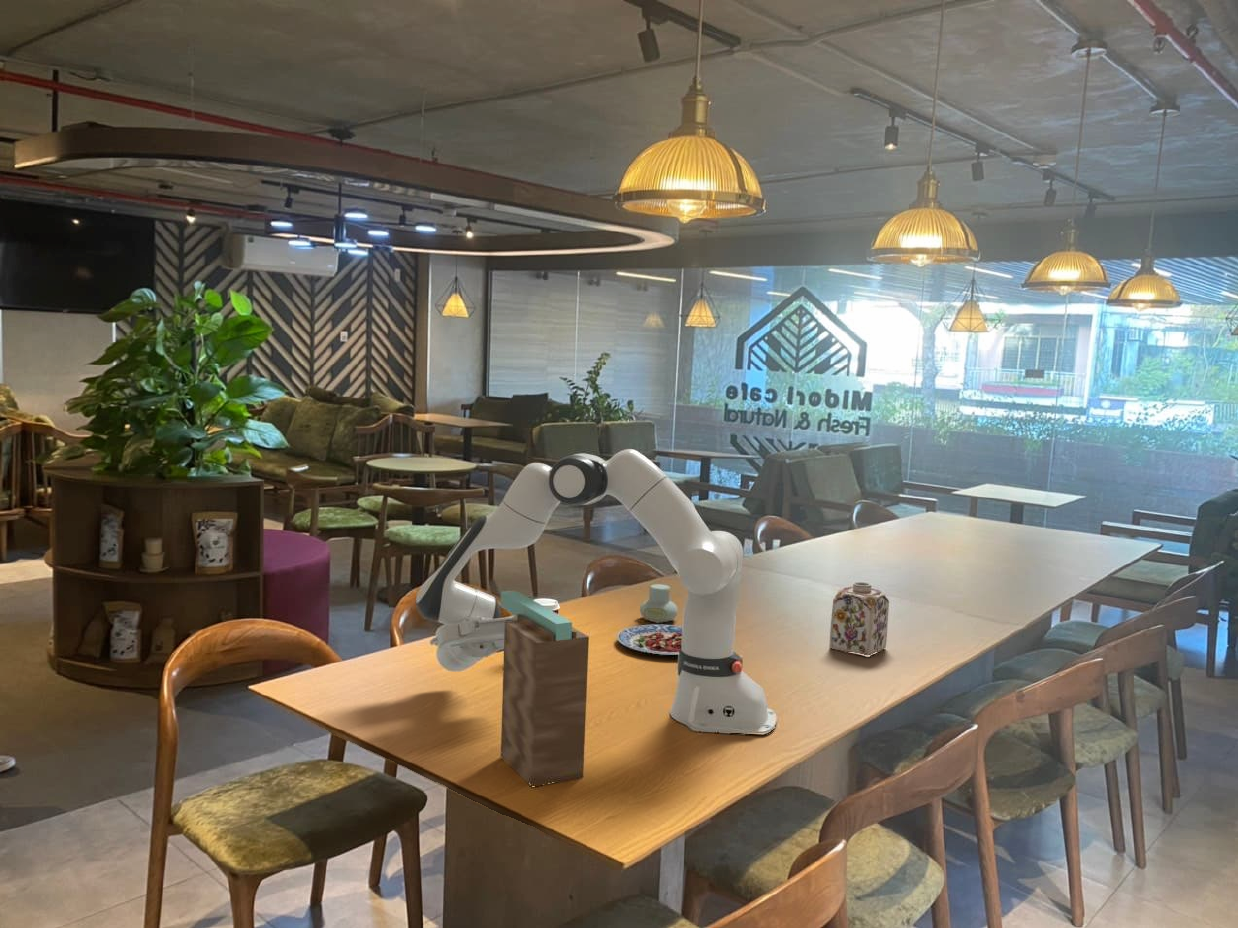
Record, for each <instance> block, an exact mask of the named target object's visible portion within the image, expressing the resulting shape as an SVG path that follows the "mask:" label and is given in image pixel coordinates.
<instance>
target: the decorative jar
mask: <svg viewBox="0 0 1238 928" xmlns="http://www.w3.org/2000/svg"><path fill="white" fill-rule="evenodd" d="M889 608H890V601H889V598H887V596H886V595H885V594H884V593H883V592H882V591H880V590H879V589H875V588H872V584H871V583H869V582H862V581H859V582H853V583H852V586H845V587H842V588H840V589H839V590H838V592H837V594H835V596H834V598H833V600H832V608H831V619H830V628H829V629H830V630H829V645H828V646H829V647H828V648H829V649H830V648H832V649H831V650H833V649H836V650H835V651H837V650H841V651H846V652H855V653H860V654H864V655H871V654H873V653H875V652H879V651H880V652H882V651H884V650H885V649H886V648H887V647H886V646H887V641H888V640H887V639H888V624H889V610H890V609H889ZM884 648H885V649H884ZM883 649H884V650H883ZM881 650H882V651H881ZM841 651H840V652H841ZM846 652H845V653H846ZM880 652H879V653H880Z"/></svg>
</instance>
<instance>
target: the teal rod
mask: <svg viewBox="0 0 1238 928" xmlns="http://www.w3.org/2000/svg"><path fill="white" fill-rule="evenodd" d="M533 600H534V599H532V598H530V597H528V596H526V595H525V594H523V593H521V592H519V591H518V590H506V591H501V593H500V607H501V608H502V609H503V610H505V611H507V612H508V613H510V614H512V615H513V616H517V614H521V615H523V616H525V617H526V618H528V619H530V620H531V621H533V622H535V623H536V624H538V625H540V626H541V627H543V628H545V629H546V630H548V631H549V632H551V633H553V634H554V640H555V641H559V640H567V639H571V637H572V627H573V621H570V620H569V619H567V618H566V617H563V616H562V615H561V614H559V613H558V614H557V613H555V612H553V611H551V610H549V609H548V608H546V607H544V606H542V605H541V604H539V603H537V602H535V601H533Z"/></svg>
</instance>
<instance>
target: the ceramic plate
mask: <svg viewBox="0 0 1238 928" xmlns="http://www.w3.org/2000/svg"><path fill="white" fill-rule="evenodd" d="M616 637H617V641H618V643H620V644H622V645H623V646H624V647H626V648H629V649H631V650H635V651H638V652H641V653H646V652H647V653H646V654H650V653H652V654H651V655H655V654H659V655H658V656H663V655H678V654H679V650H680V649H681V644H682V626H680V625H675V624H673V625H672V624H645V625H644V624H643V625H636V626H632V627H628V628H625V629H623V630H621V631H620V632H618V634H617V635H616Z"/></svg>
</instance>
